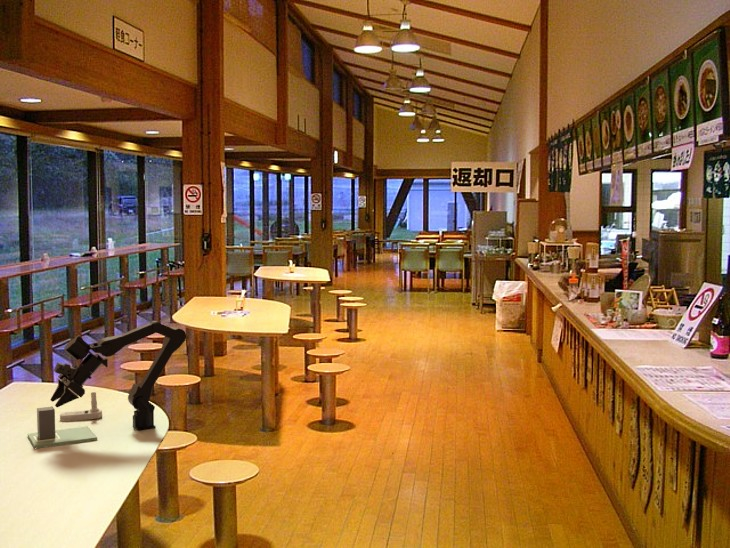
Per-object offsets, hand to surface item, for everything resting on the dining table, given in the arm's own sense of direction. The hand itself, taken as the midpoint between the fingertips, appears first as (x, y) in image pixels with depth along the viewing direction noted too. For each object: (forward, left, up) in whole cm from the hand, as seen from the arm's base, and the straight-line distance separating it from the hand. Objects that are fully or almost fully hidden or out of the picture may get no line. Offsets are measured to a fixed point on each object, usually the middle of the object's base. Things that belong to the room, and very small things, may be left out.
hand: (53, 403), depth 271 cm
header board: (-2, 0, -12) cm, 13 cm away
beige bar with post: (-16, -23, -13) cm, 30 cm away
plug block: (+3, 0, -11) cm, 12 cm away
